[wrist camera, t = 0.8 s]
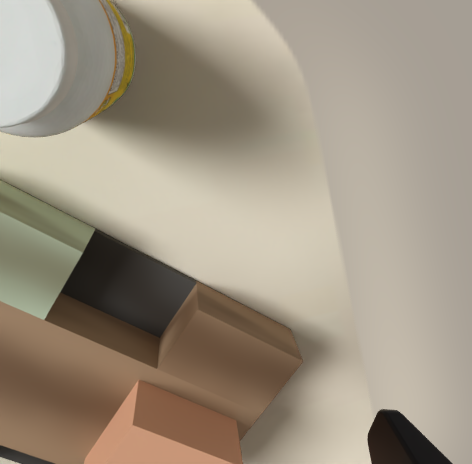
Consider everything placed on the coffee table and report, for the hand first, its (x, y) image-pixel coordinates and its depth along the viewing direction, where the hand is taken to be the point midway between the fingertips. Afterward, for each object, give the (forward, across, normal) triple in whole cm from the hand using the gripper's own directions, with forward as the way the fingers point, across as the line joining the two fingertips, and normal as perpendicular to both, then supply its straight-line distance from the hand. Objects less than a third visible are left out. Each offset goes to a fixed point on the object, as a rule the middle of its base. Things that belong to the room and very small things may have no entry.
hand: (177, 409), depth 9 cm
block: (+9, 0, +14) cm, 17 cm away
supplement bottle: (+15, +6, -5) cm, 17 cm away
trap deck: (+12, +5, +12) cm, 18 cm away
